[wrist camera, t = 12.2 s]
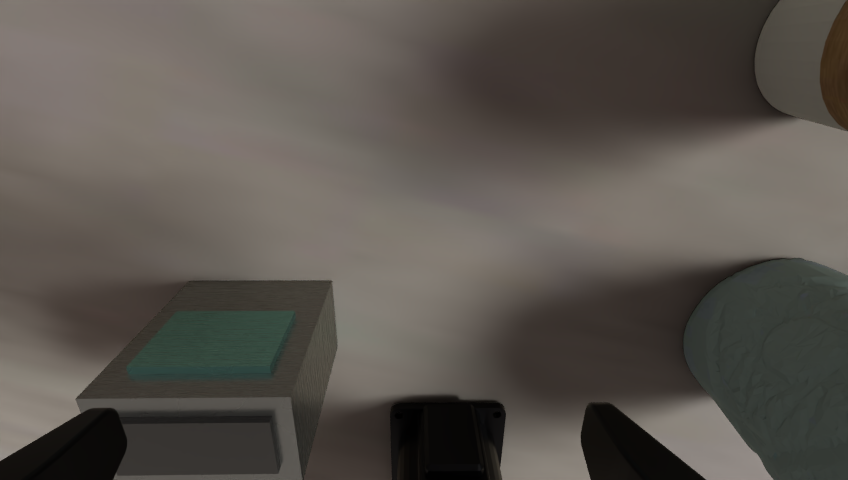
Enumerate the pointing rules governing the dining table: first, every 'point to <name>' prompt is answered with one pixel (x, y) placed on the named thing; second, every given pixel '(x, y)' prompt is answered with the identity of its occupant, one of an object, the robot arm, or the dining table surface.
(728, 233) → the dining table surface
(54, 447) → the robot arm
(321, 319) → the napkin dispenser
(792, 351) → the drinking glass
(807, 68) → the coffee cup
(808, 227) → the dining table surface
